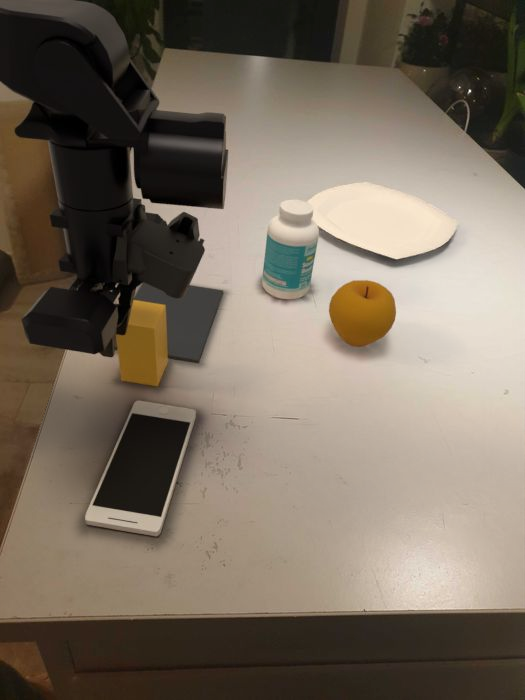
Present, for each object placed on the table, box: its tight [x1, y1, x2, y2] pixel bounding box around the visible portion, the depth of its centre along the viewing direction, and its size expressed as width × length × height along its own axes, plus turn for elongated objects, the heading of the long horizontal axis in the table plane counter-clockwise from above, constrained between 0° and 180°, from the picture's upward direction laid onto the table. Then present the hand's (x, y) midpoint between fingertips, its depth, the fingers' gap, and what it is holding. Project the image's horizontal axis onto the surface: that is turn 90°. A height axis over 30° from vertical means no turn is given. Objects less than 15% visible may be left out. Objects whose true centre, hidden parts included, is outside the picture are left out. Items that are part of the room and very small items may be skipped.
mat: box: [115, 282, 224, 364], centre depth 73 cm, size 12×16×1 cm
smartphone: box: [84, 400, 197, 537], centre depth 54 cm, size 7×15×1 cm, turn 173°
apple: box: [328, 279, 397, 348], centre depth 71 cm, size 9×9×9 cm
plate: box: [306, 181, 459, 261], centre depth 100 cm, size 27×27×2 cm
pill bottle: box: [261, 199, 320, 300], centre depth 77 cm, size 8×7×14 cm
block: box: [116, 300, 169, 387], centre depth 62 cm, size 4×4×9 cm
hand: (114, 344), depth 52 cm, fingers open, 3 cm apart
